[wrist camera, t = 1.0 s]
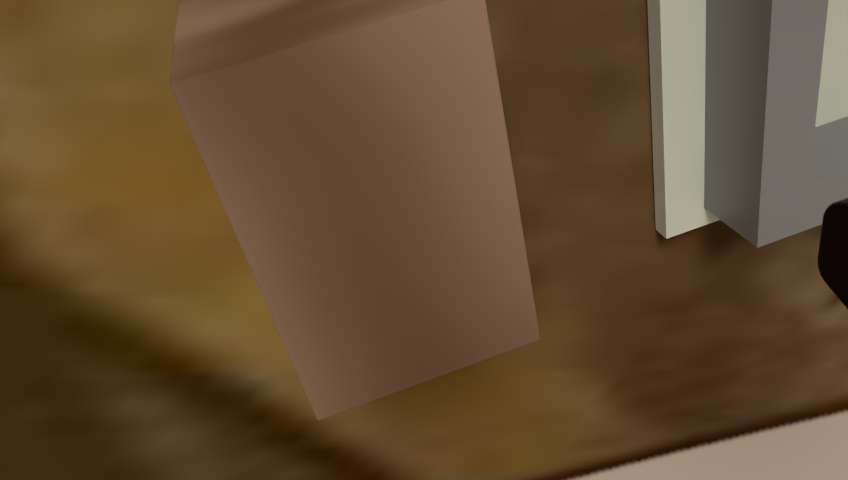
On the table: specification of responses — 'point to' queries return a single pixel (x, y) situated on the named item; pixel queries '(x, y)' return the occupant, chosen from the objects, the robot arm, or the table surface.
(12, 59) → the table surface
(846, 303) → the robot arm
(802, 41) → the socket board
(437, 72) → the walnut block
